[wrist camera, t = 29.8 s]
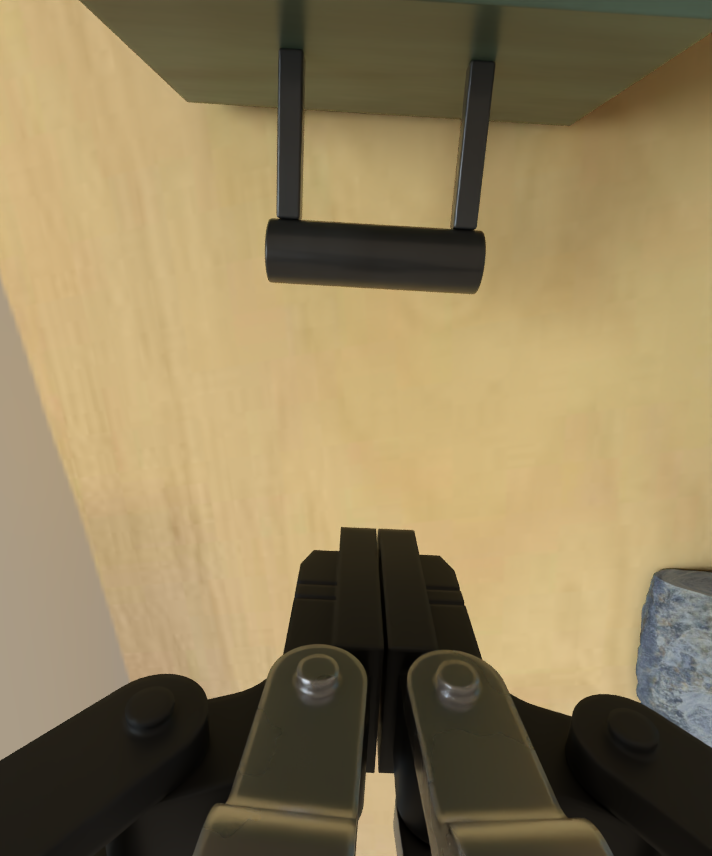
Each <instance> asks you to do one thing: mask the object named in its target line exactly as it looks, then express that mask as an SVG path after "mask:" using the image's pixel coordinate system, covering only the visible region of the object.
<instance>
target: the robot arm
mask: <svg viewBox="0 0 712 856" xmlns="http://www.w3.org/2000/svg"><path fill="white" fill-rule="evenodd" d="M376 744H377V745H378V770H379V773H394V777H395V791H396V800H395V811H394V821H393V825H394V836H395V843H396V851H397V856H712V748H711V747H710V746H708V745H707V744H705V743H704V742H702V741H701V740H699V739H697V738H696V737H694V736H693V735H691V734H690V733H688V732H687V731H685V730H683V729H682V728H680V727H679V726H677V725H676V724H674V723H673V722H671V721H669V720H668V719H666V718H665V717H663V716H662V715H660V714H659V713H657V712H655V711H654V710H652V709H650V708H649V707H647V706H645V705H643V704H641V703H639V702H636V701H634V700H631V699H628V698H625V697H621V696H617V695H609V694H598V695H592V696H589V697H586V698H584V699H583V700H581V701H580V702H579V703H578V704H577V705H576V706H575V708H574V711H573V714H572V717H571V716H568V715H565V714H561V713H558V712H555V711H551V710H548V709H545V708H541V707H538V706H535V705H532V704H530V703H527V702H525V701H523V700H520V699H518V698H517V697H515V696H513V695H512V694H510V693H509V691H508V689H507V687H506V685H505V683H504V681H503V679H502V677H501V676H500V675H499V674H498V672H497V671H496V670H495V669H494V668H493V667H492V666H490V665H489V664H488V663H486V662H485V661H483V660H482V657H481V654H480V651H479V648H478V645H477V641H476V638H475V635H474V632H473V629H472V625H471V622H470V619H469V616H468V613H467V609H466V606H464V600H463V597H462V593H461V591H460V587H459V584H458V581H457V577H456V574H455V571H454V570H453V569H452V568H451V567H450V566H449V565H448V564H447V563H446V562H445V561H444V560H443V559H442V558H441V557H440V556H434V555H419V551H418V546H417V542H416V537H415V532H414V530H396V529H378V536H376V529H371V528H349V527H341V535H340V551H321V550H314V551H313V552H312V553H311V554H310V555H309V556H308V557H307V558H306V559H305V560H304V561H303V562H302V563H301V565H300V570H299V575H298V581H297V586H296V591H295V598H294V601H293V607H292V612H291V617H290V622H289V628H288V633H287V638H286V643H285V648H284V654H283V655H282V656H281V657H280V658H279V659H278V660H277V661H276V662H275V663H274V664H273V666H272V667H271V669H270V672H269V674H268V677H267V679H265V680H264V681H263V682H261V683H260V684H258V685H256V686H254V687H252V688H250V689H247V690H245V691H242V692H238V693H235V694H230V695H226V696H222V697H217V698H213V699H208V700H207V697H206V694H205V692H204V690H203V689H202V687H201V686H200V685H199V684H198V683H196V682H195V681H193V680H192V679H189V678H187V677H185V676H180V675H175V674H158V675H152V676H147V677H144V678H140V679H138V680H135V681H133V682H130V683H128V684H127V685H125V686H123V687H121V688H119V689H118V690H116V691H115V692H113V693H111V694H110V695H108V696H106V697H105V698H103V699H101V700H100V701H98V702H96V703H95V704H93V705H92V706H90V707H88V708H86V709H85V710H83V711H81V712H80V713H78V714H77V715H75V716H73V717H72V718H70V719H68V720H67V721H65V722H63V723H62V724H60V725H59V726H57V727H55V728H53V729H52V730H50V731H48V732H47V733H45V734H43V735H42V736H40V737H39V738H37V739H35V740H34V741H32V742H30V743H29V744H27V745H26V746H24V747H22V748H20V749H19V750H17V751H15V752H14V753H12V754H10V755H9V756H7V757H5V758H4V759H2V760H1V761H0V856H355V854H356V841H357V827H358V820H359V818H360V816H361V813H362V809H363V804H364V790H365V776H366V772H368V773H374V770H375V757H376Z"/></svg>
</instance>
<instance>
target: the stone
mask: <svg viewBox="0 0 712 856" xmlns="http://www.w3.org/2000/svg"><path fill="white" fill-rule="evenodd" d="M640 643H641V645H640V646H639V648H638V659H637V664H636V675H637V679H638V684H637V689H636V692H637V696H638V698H639V699H640V701H641V704H643V705H645V706H647V707H649V708H650V709H652V710H654V711H655V712H657V713H659V714H660V715H662V716H663V717H665V718H666V719H668V720H669V721H671V722H673V723H674V724H676V725H677V726H679V727H680V728H682V729H683V730H685V731H687V732H688V733H690V734H691V735H693V736H694V737H696V738H697V739H699V740H701V741H702V742H704V743H705V744H707V745H708V746H710V747H711V748H712V572H705V571H690V570H678V569H662V570H660V571H658V572H656V573H654V576H653V579H652V580H651V585H650V588H649V592H648V594H647V597H646V603H645V604H644V605H643V608H642V622H641V633H640Z"/></svg>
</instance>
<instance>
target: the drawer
mask: <svg viewBox="0 0 712 856" xmlns="http://www.w3.org/2000/svg"><path fill="white" fill-rule="evenodd" d="M79 1H81V2H82V3H83V4H84V5H85V6H86V7H87V8H88V9H89V10H90V11H91V12H92V13H93V14H94V15H95V16H96V17H98V18H99V19H100V20H101V21H102V22H103V23H104V24H105V25H106V26H107V27H108V28H109V29H110V30H111V31H112V32H113V33H115V34H116V35H117V36H118V37H119V38H120V39H121V40H122V41H123V42H124V43H125V44H126V45H127V46H128V47H129V48H130V49H132V50H133V51H134V52H135V53H136V54H137V55H138V56H139V57H140V58H141V59H142V60H143V61H144V62H145V63H146V64H147V65H148V66H150V67H151V68H152V69H153V70H154V71H155V72H156V73H157V74H158V75H159V76H160V77H161V78H162V79H163V80H164V81H165V82H167V83H168V84H169V85H170V86H171V87H172V88H173V89H174V90H175V91H176V92H177V93H178V94H179V95H180V96H181V97H182V98H184V99H185V100H186V101H187V102H193V103H209V104H225V105H241V106H258V107H274V108H278V121H277V217H278V218H280V219H275V218H271V219H269V221H268V224H267V229H266V238H265V264H266V273H267V277H268V280H269V281H270V282H272V283H288V284H306V285H323V286H340V287H357V288H374V289H391V290H408V291H426V292H443V293H460V294H475V293H476V292H477V291H478V288H479V286H480V283H481V280H482V276H483V271H484V265H485V255H486V242H485V236H484V233H483V232H482V231H476V230H474V229H476V227H477V221H478V212H479V204H480V195H481V186H482V178H483V169H484V161H485V152H486V144H487V135H488V126H489V121H500V122H516V123H532V124H548V125H565V126H570V125H572V124H573V123H575V122H577V121H578V120H580V119H581V118H583V117H584V116H586V115H587V114H589V113H590V112H592V111H593V110H595V109H596V108H598V107H599V106H601V105H602V104H604V103H605V102H607V101H608V100H610V99H611V98H613V97H615V96H616V95H618V94H619V93H621V92H622V91H624V90H625V89H627V88H628V87H630V86H631V85H633V84H634V83H636V82H637V81H639V80H640V79H642V78H643V77H645V76H646V75H648V74H649V73H651V72H653V71H654V70H656V69H657V68H659V67H660V66H662V65H663V64H665V63H666V62H668V61H669V60H671V59H672V58H674V57H675V56H677V55H678V54H680V53H681V52H683V51H684V50H686V49H688V48H689V47H691V46H692V45H694V44H695V43H697V42H698V41H700V40H701V39H703V38H704V37H706V36H707V35H709V34H710V33H712V0H79ZM305 109H306V110H322V111H338V112H355V113H371V114H387V115H403V116H419V117H435V118H451V119H461V127H460V137H459V147H458V157H457V166H456V176H455V186H454V196H453V205H452V215H451V225H450V228H451V229H443V228H426V227H409V226H392V225H375V224H359V223H342V222H325V221H308V220H301V219H302V198H303V156H304V114H305Z"/></svg>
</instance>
